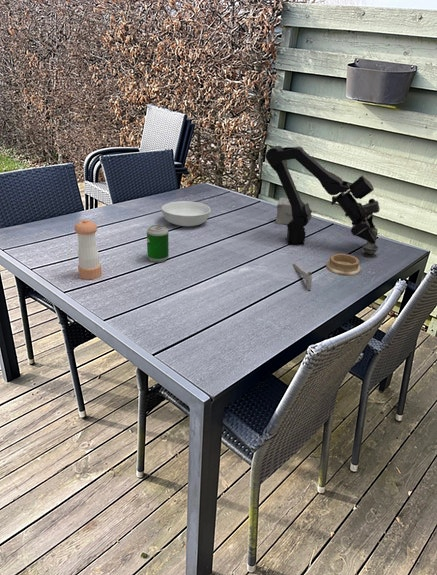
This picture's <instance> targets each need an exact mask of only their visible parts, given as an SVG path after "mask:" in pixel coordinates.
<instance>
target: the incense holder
mask: <svg viewBox="0 0 437 575" xmlns="http://www.w3.org/2000/svg"><path fill="white" fill-rule="evenodd" d="M276 210H277V211H276V219H275V224H276V225H281V224H282V225H287V224H288V223H289V222H290V221H291V220H292V218H293V217H292V210H291V205H290V202H289V200H288V198H285V197H279V198H278V202H277V205H276Z"/></svg>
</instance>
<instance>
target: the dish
mask: <svg viewBox="0 0 437 575" xmlns="http://www.w3.org/2000/svg"><path fill="white" fill-rule="evenodd" d="M360 262H361V261H360V260H359V258H358V257H356V256H354V255H352V254H347V253H335V254H332V255H331V256H330V257H329V260H328V261H327V262H326V264H325V267H326V269H327V270H328V271H329V272H331V273H332V274H333V273H334V274H337V275H340V276H345V277H346V276H348V277H349V276H356V275H359V274H360V273H361V271H362V267H361V266H360Z"/></svg>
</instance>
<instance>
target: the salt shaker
mask: <svg viewBox="0 0 437 575" xmlns="http://www.w3.org/2000/svg"><path fill="white" fill-rule="evenodd" d="M370 232H371V234H372V236H373V238H374V240H375V243H374V244H372V243H370V242H368V241H366V243H363V244H362V249H363V252H361V256H362V257H365V258H370V259H374V258H376V257H377V256H376V253H377V251H378V249H379V246H378V245H377V244H376V242H377V239H378V237H377V236H378V235H377V233H378V228H376V225H375V224H374V227H373V228H370Z"/></svg>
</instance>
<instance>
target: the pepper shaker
mask: <svg viewBox="0 0 437 575" xmlns="http://www.w3.org/2000/svg"><path fill="white" fill-rule="evenodd" d="M74 231H75V233H76V234H77V240H78V242H77V243H78V248H77V249H78V251H77V259H78V266H77V269H78V277H79V276H80V277H81V278H80V277H79V278H80V279H82V278H83V279H82V280H86V279H91V280H95V278H96V279H99V278H100V277H101V276H102V275H101V274H102V265H101V263H100V254H99V250H98V246H97V236H96V233H97V231H98V225H97V224H96V222H95V221H92V220H88V219H85V218H84V219H83V220H81V221H78V222H77V223H76V224H75V225H74ZM98 277H99V278H98Z"/></svg>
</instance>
